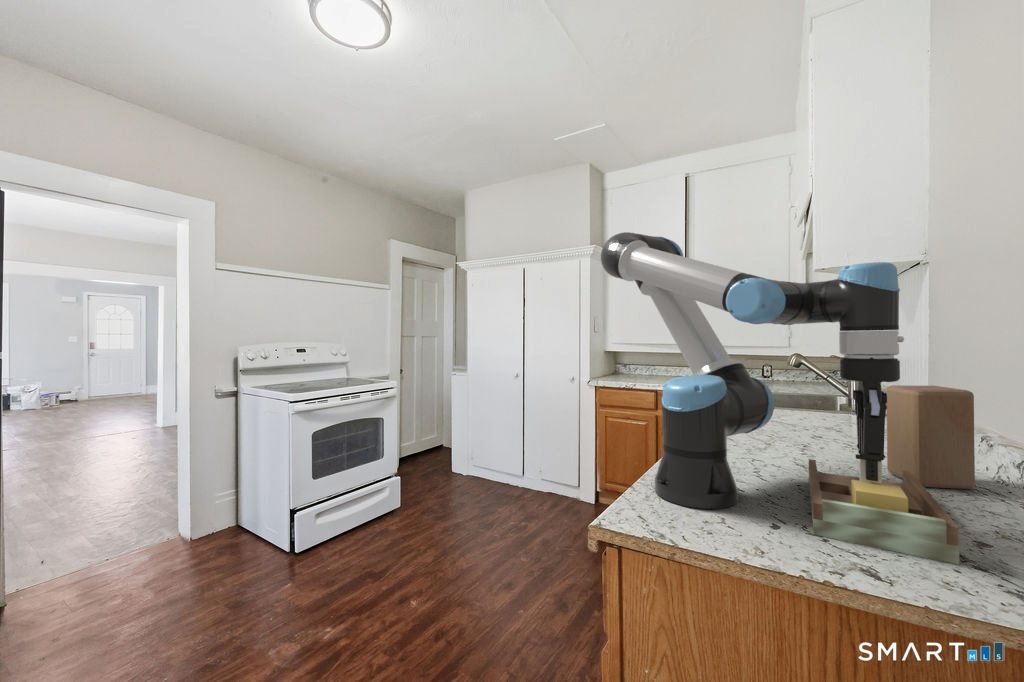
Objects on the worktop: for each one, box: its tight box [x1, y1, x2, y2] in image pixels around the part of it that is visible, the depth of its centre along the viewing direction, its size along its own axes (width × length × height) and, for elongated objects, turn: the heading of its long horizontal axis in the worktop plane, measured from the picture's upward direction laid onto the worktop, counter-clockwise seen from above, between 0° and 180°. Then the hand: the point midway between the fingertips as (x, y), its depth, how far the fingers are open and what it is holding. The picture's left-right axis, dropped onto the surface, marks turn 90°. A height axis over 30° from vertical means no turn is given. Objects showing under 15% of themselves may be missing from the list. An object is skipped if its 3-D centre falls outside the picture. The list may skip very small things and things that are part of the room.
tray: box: [808, 458, 960, 565], centre depth 72 cm, size 16×28×6 cm, turn 145°
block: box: [885, 384, 976, 490], centre depth 88 cm, size 10×10×20 cm
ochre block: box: [852, 480, 908, 513], centre depth 65 cm, size 6×6×4 cm
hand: (870, 497), depth 69 cm, fingers closed
